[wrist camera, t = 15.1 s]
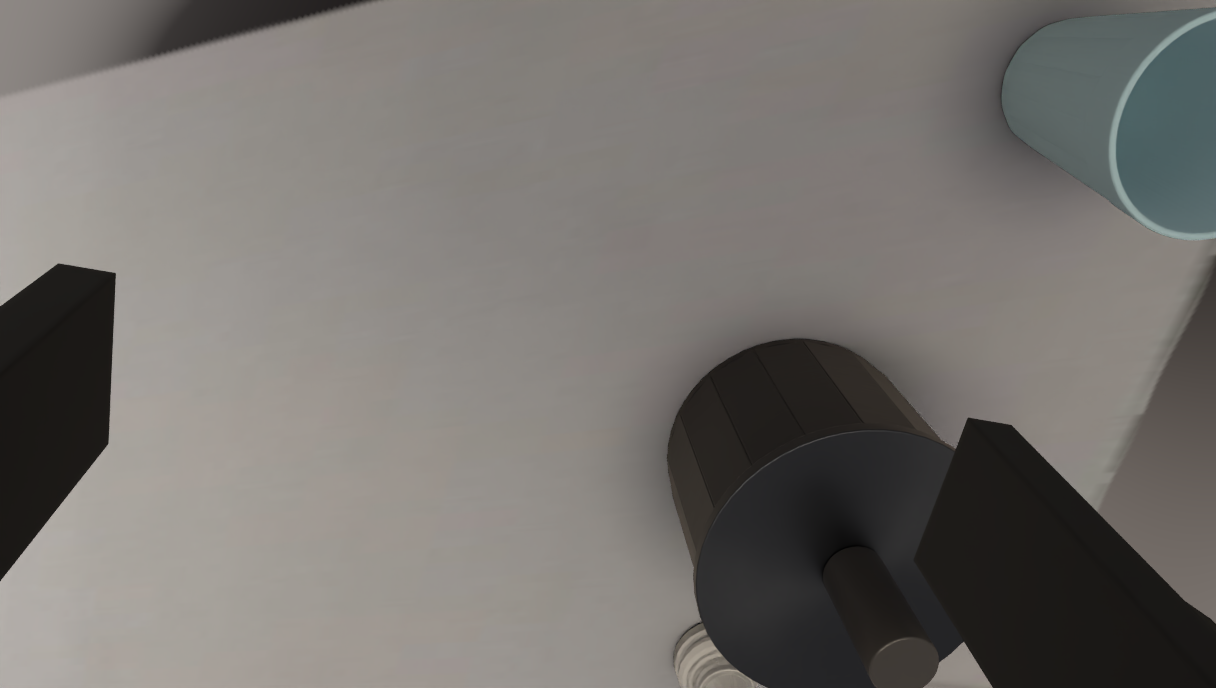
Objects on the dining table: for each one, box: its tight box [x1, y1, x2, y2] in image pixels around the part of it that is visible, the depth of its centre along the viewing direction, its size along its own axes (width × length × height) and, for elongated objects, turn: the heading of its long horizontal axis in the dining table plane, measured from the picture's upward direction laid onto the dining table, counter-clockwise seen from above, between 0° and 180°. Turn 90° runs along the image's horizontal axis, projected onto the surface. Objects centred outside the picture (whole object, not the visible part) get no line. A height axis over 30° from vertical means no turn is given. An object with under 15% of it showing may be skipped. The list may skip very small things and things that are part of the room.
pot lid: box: [693, 423, 964, 688], centre depth 37 cm, size 12×12×7 cm
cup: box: [1001, 7, 1216, 240], centre depth 38 cm, size 8×8×10 cm
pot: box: [667, 339, 941, 566], centre depth 44 cm, size 11×11×10 cm
